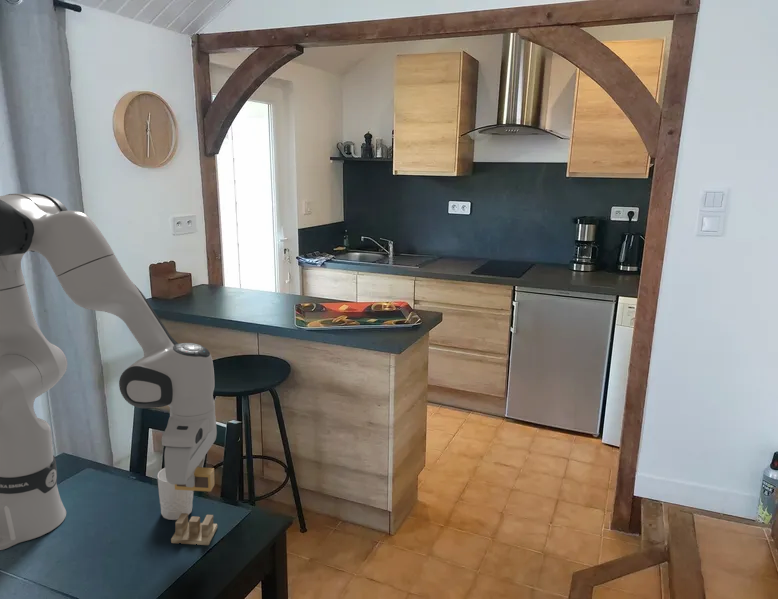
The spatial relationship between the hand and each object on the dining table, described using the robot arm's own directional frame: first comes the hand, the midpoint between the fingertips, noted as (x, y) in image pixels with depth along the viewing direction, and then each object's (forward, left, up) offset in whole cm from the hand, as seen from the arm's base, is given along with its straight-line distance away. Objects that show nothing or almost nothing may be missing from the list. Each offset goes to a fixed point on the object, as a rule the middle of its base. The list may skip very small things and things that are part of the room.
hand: (194, 480), depth 117 cm
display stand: (0, 0, -14) cm, 14 cm away
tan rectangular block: (0, 0, -2) cm, 2 cm away
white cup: (-7, +8, -14) cm, 17 cm away
